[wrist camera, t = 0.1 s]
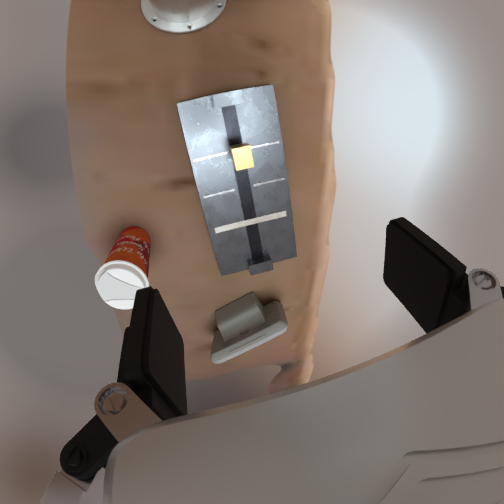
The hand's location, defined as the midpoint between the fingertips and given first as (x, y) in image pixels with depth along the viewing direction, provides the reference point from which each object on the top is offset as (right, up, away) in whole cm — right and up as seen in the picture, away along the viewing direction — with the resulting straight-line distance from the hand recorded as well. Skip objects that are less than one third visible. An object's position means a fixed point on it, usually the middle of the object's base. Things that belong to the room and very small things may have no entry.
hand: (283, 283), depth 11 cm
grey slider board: (-3, +12, +35) cm, 38 cm away
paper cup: (-21, +3, +37) cm, 43 cm away
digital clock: (-3, -11, +50) cm, 51 cm away
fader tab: (-3, +16, +30) cm, 34 cm away
